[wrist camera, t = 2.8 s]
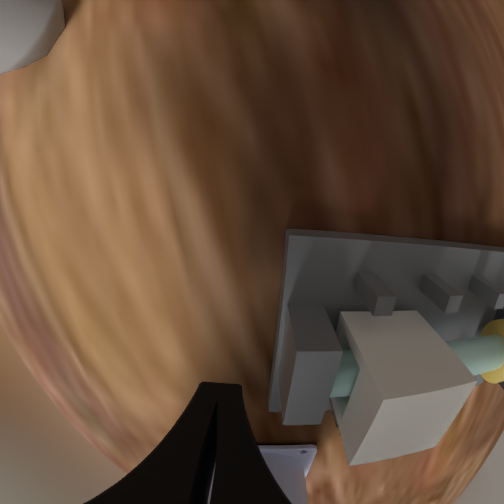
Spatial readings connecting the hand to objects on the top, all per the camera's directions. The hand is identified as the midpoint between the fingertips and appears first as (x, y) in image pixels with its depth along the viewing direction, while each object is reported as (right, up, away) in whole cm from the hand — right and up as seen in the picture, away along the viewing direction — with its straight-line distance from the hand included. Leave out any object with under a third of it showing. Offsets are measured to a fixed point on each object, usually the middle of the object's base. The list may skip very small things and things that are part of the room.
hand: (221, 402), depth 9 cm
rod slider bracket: (+10, +1, +5) cm, 11 cm away
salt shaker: (-11, +18, 0) cm, 21 cm away
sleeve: (+7, +1, +3) cm, 8 cm away
